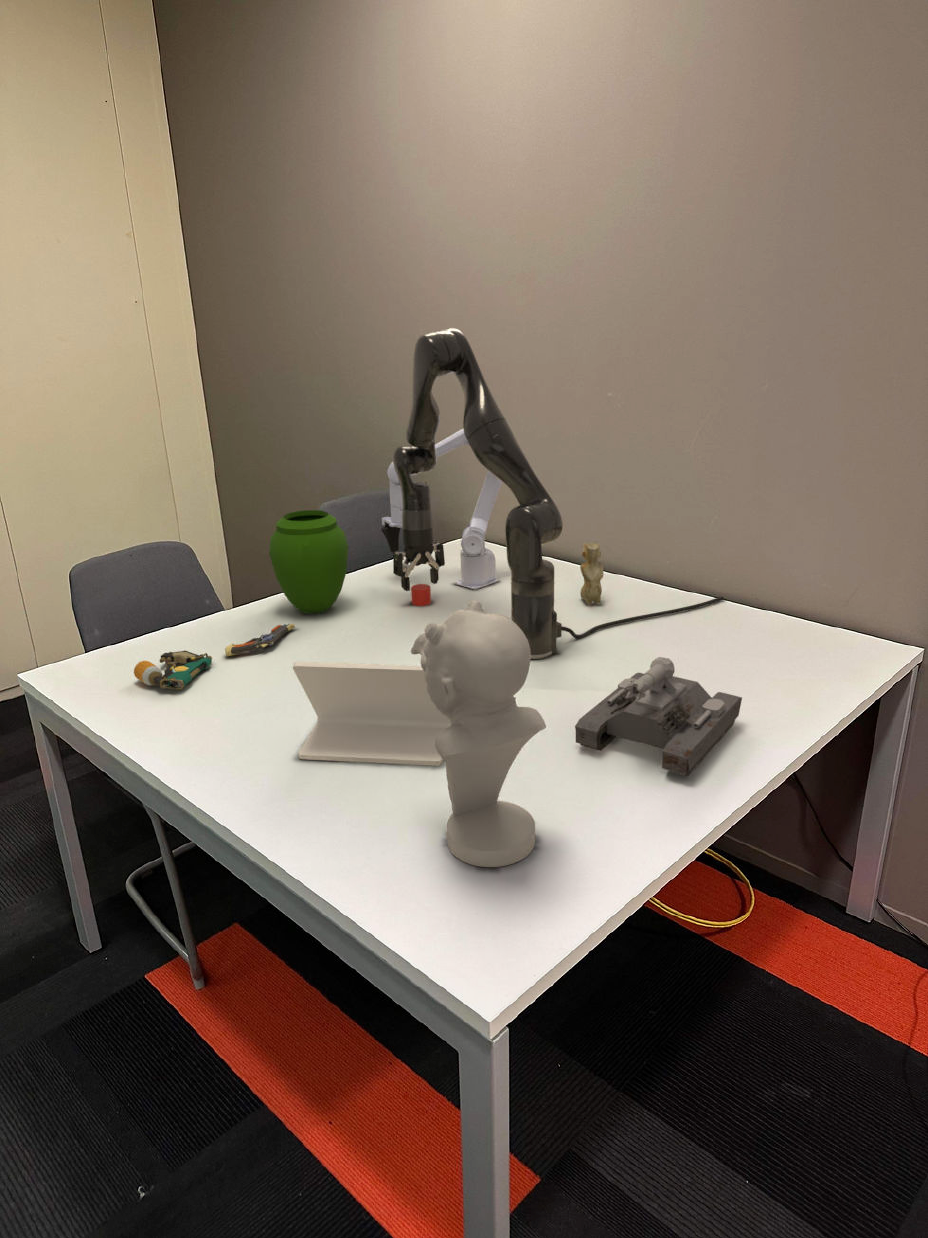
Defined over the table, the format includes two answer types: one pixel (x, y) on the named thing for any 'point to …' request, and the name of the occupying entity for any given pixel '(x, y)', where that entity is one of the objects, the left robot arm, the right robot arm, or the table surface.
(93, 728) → the table surface
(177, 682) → the multicoloured piece
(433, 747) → the tablet stand
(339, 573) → the vase
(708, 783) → the table surface
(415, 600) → the can
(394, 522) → the left robot arm
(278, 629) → the toy gun
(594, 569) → the sculpture
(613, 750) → the table surface
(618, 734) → the toy
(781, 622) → the table surface
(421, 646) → the bust sculpture
